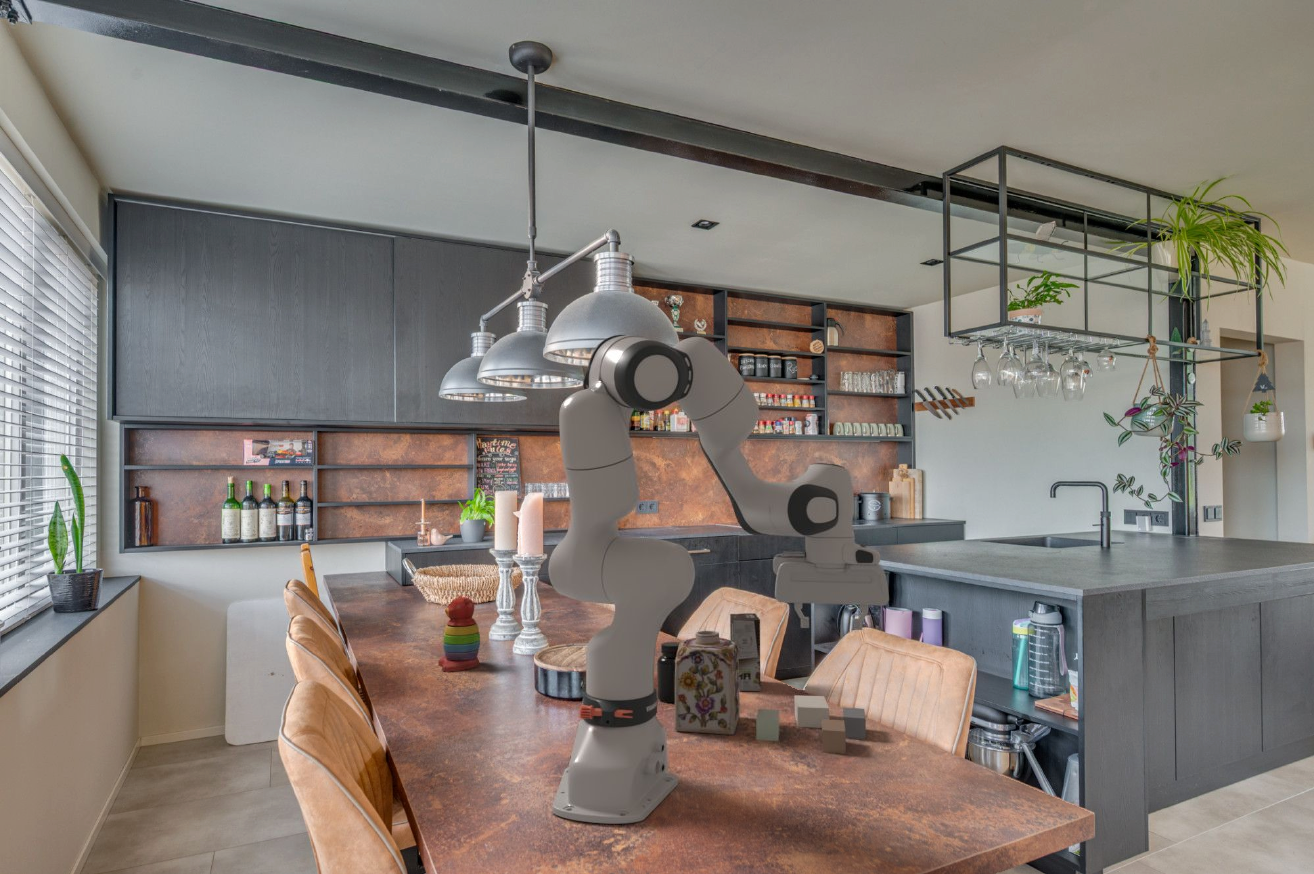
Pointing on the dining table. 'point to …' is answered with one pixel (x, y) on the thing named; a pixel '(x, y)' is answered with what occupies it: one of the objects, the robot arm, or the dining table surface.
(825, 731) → the walnut brick
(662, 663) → the supplement bottle
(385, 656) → the dining table surface
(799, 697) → the cream block
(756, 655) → the coffee box
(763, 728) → the sage brick
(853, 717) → the grey brick
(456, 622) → the stacking bear
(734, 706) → the decorative jar
